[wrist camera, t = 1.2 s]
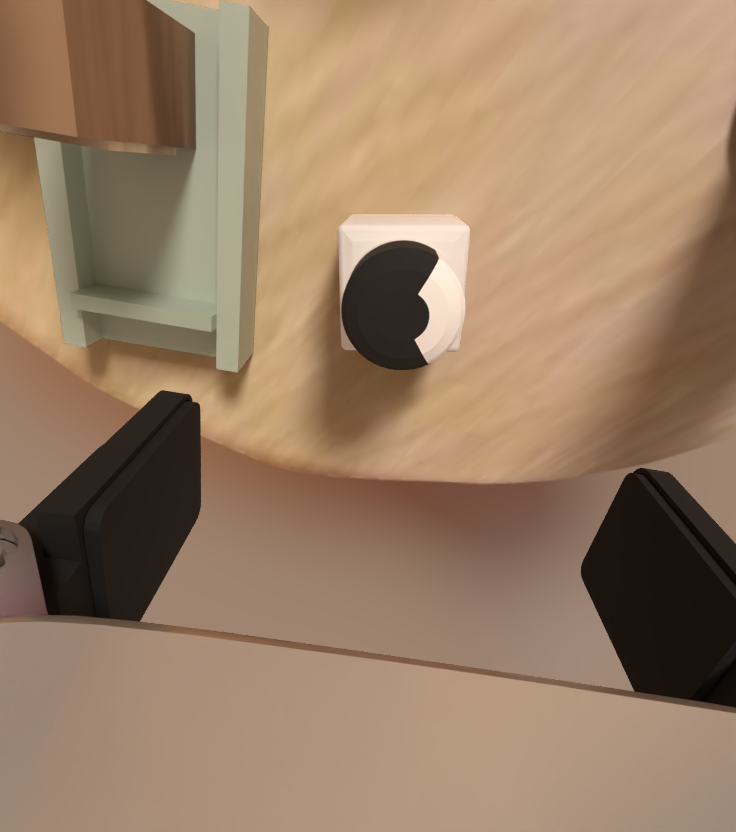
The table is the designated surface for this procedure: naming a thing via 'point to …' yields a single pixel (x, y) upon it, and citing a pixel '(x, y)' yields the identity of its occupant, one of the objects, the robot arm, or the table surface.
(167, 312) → the pale green rimmed tray
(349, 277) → the medicine bottle
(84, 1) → the fitted walnut block
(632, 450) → the table surface
